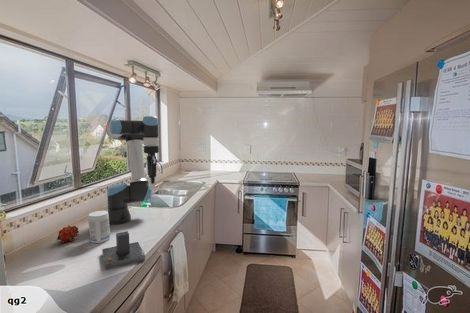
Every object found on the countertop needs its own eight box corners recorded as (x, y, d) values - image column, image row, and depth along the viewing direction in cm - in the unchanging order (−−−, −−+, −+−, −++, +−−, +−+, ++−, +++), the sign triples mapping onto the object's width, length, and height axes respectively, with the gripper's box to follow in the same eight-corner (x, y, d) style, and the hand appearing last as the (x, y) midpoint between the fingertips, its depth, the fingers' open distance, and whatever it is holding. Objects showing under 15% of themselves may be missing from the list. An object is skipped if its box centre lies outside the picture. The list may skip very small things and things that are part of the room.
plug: (116, 256, 121) (115, 233, 120) (128, 254, 124) (127, 231, 123) (118, 260, 118) (117, 236, 117) (129, 257, 120) (129, 234, 119)
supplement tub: (110, 235, 146) (108, 209, 144) (110, 241, 137) (108, 214, 136) (90, 238, 141) (88, 211, 140) (89, 245, 133) (87, 217, 131)
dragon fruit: (81, 238, 144) (60, 251, 134) (70, 229, 146) (48, 240, 135) (85, 228, 141) (65, 240, 130) (74, 218, 142) (53, 229, 131)
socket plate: (102, 254, 123) (102, 247, 123) (138, 246, 132) (137, 240, 131) (105, 269, 110) (105, 262, 109) (145, 260, 118) (144, 253, 118)
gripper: (161, 146, 136) (162, 190, 138) (155, 144, 147) (156, 186, 150) (146, 146, 132) (148, 192, 135) (141, 145, 143) (142, 187, 146)
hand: (152, 189), depth 142 cm, fingers closed
